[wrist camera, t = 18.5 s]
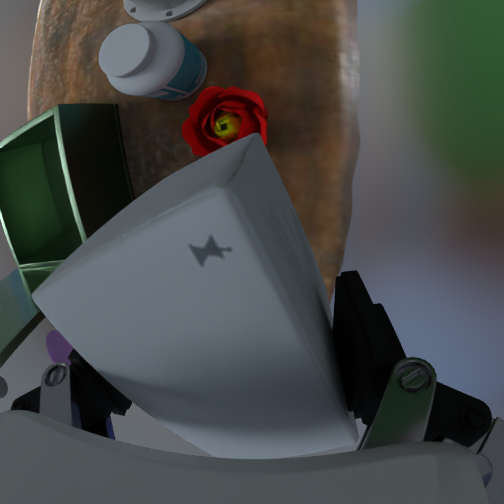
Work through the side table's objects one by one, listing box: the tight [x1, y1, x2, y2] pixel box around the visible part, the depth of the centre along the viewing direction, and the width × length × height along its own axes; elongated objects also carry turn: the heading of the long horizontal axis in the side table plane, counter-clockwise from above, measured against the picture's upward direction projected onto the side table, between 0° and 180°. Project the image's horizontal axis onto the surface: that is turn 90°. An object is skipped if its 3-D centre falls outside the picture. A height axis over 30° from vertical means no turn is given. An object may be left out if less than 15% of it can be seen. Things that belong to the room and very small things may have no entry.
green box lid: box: [0, 266, 59, 398], centre depth 18 cm, size 17×16×5 cm
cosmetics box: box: [32, 133, 359, 459], centre depth 11 cm, size 10×6×10 cm, turn 25°
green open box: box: [0, 103, 135, 269], centre depth 27 cm, size 17×16×12 cm
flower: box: [182, 86, 268, 157], centre depth 25 cm, size 8×8×8 cm
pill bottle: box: [99, 21, 207, 100], centre depth 20 cm, size 8×7×14 cm
